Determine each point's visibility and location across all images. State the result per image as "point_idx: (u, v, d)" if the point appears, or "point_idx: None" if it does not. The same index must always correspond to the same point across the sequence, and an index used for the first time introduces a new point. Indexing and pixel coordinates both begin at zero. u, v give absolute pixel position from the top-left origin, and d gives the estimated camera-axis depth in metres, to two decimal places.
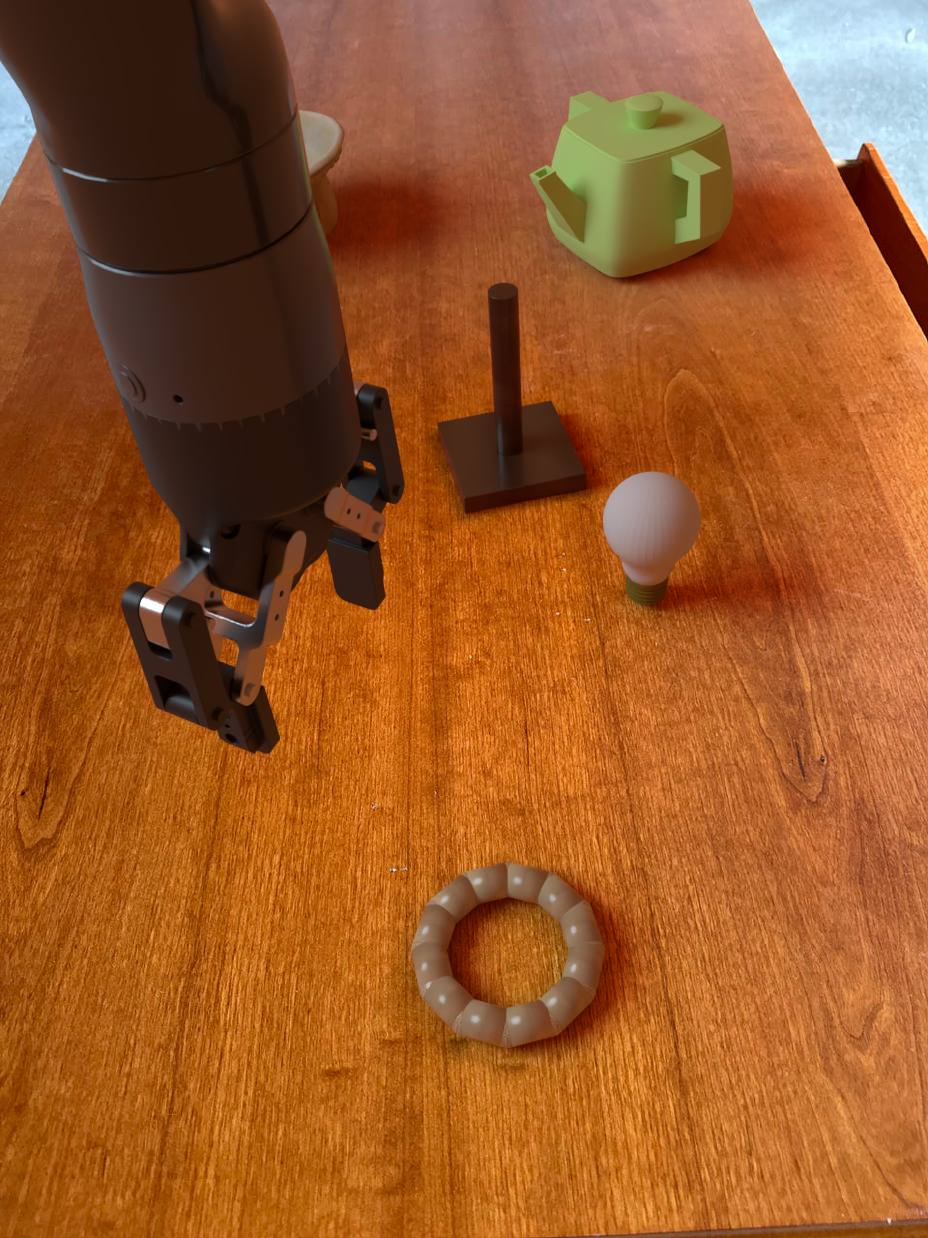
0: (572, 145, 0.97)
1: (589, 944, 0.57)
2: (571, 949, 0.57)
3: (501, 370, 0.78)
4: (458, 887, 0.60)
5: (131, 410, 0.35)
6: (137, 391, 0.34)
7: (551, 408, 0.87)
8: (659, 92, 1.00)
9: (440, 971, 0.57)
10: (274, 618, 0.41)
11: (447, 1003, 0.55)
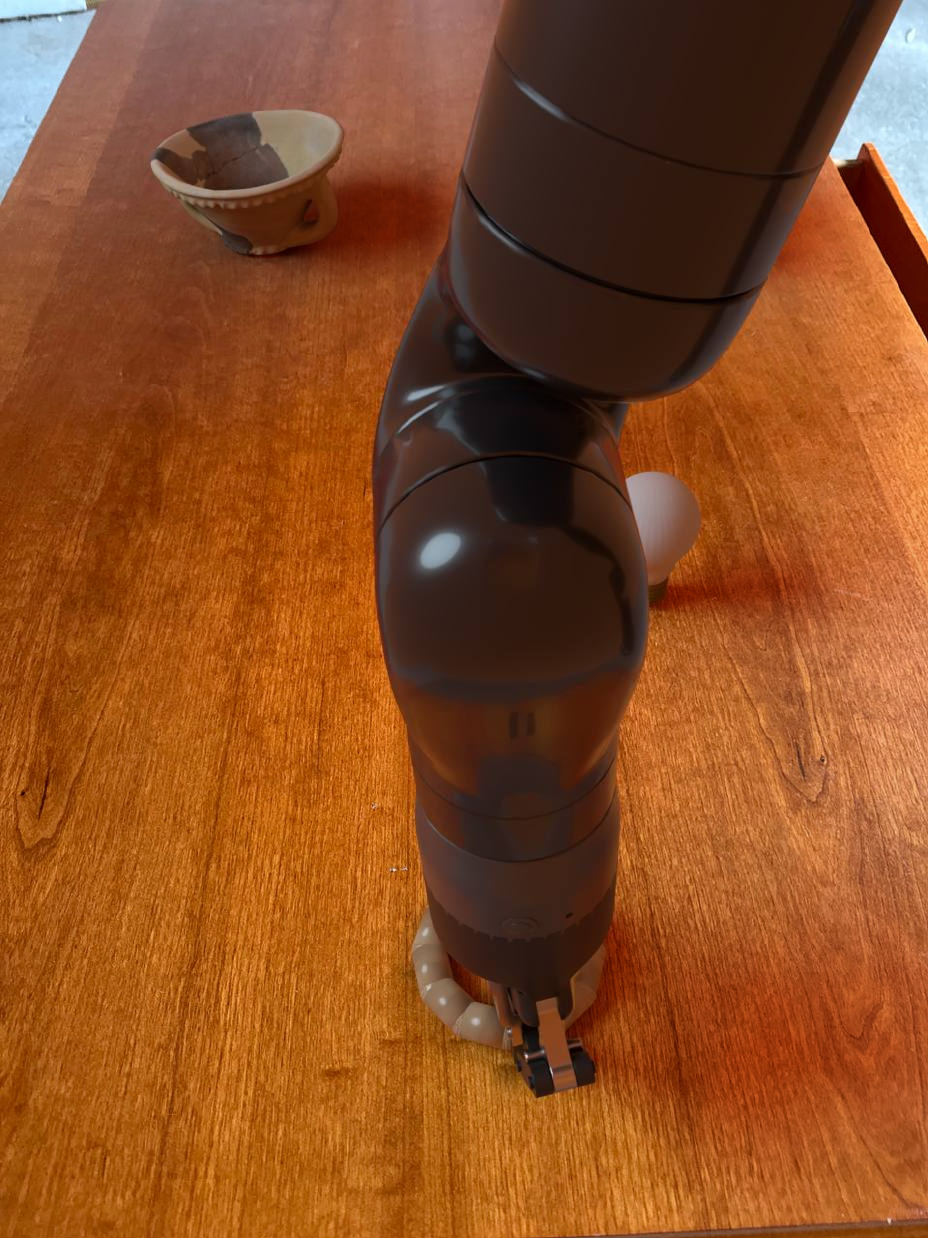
0: None
1: None
2: None
3: None
4: None
5: (506, 942, 0.41)
6: (532, 928, 0.40)
7: None
8: None
9: (440, 973, 0.56)
10: None
11: (447, 1005, 0.55)
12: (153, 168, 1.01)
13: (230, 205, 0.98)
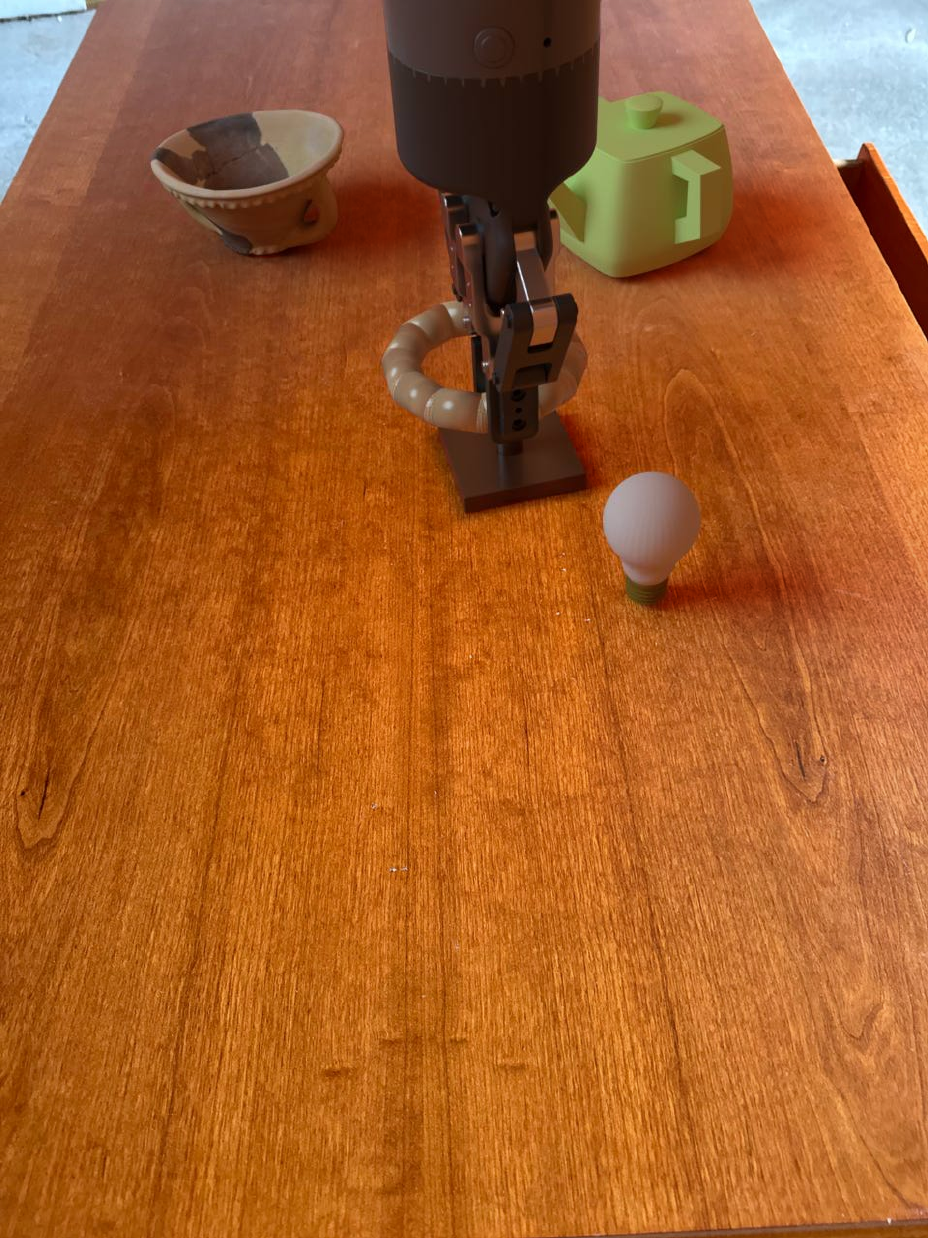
0: None
1: (571, 344, 0.54)
2: None
3: None
4: (432, 310, 0.56)
5: (479, 88, 0.38)
6: (507, 50, 0.37)
7: None
8: (659, 92, 1.00)
9: (412, 367, 0.53)
10: None
11: (419, 388, 0.52)
12: (153, 168, 1.01)
13: (230, 205, 0.98)
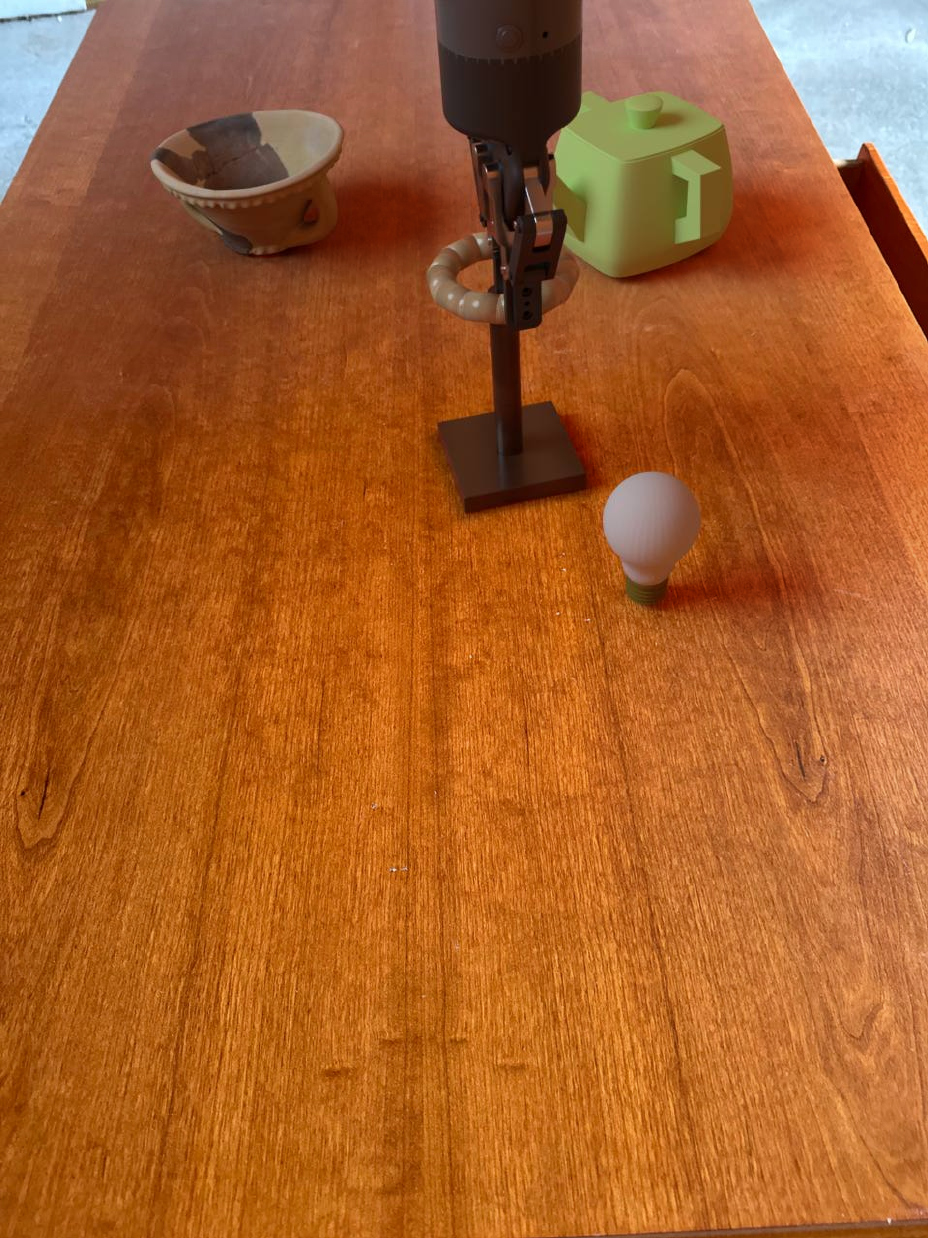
0: (572, 145, 0.97)
1: (566, 261, 0.72)
2: None
3: (501, 370, 0.78)
4: (464, 239, 0.75)
5: (500, 65, 0.56)
6: (518, 39, 0.56)
7: (551, 408, 0.87)
8: (659, 92, 1.00)
9: (449, 277, 0.72)
10: None
11: (454, 291, 0.71)
12: (153, 168, 1.01)
13: (230, 205, 0.98)
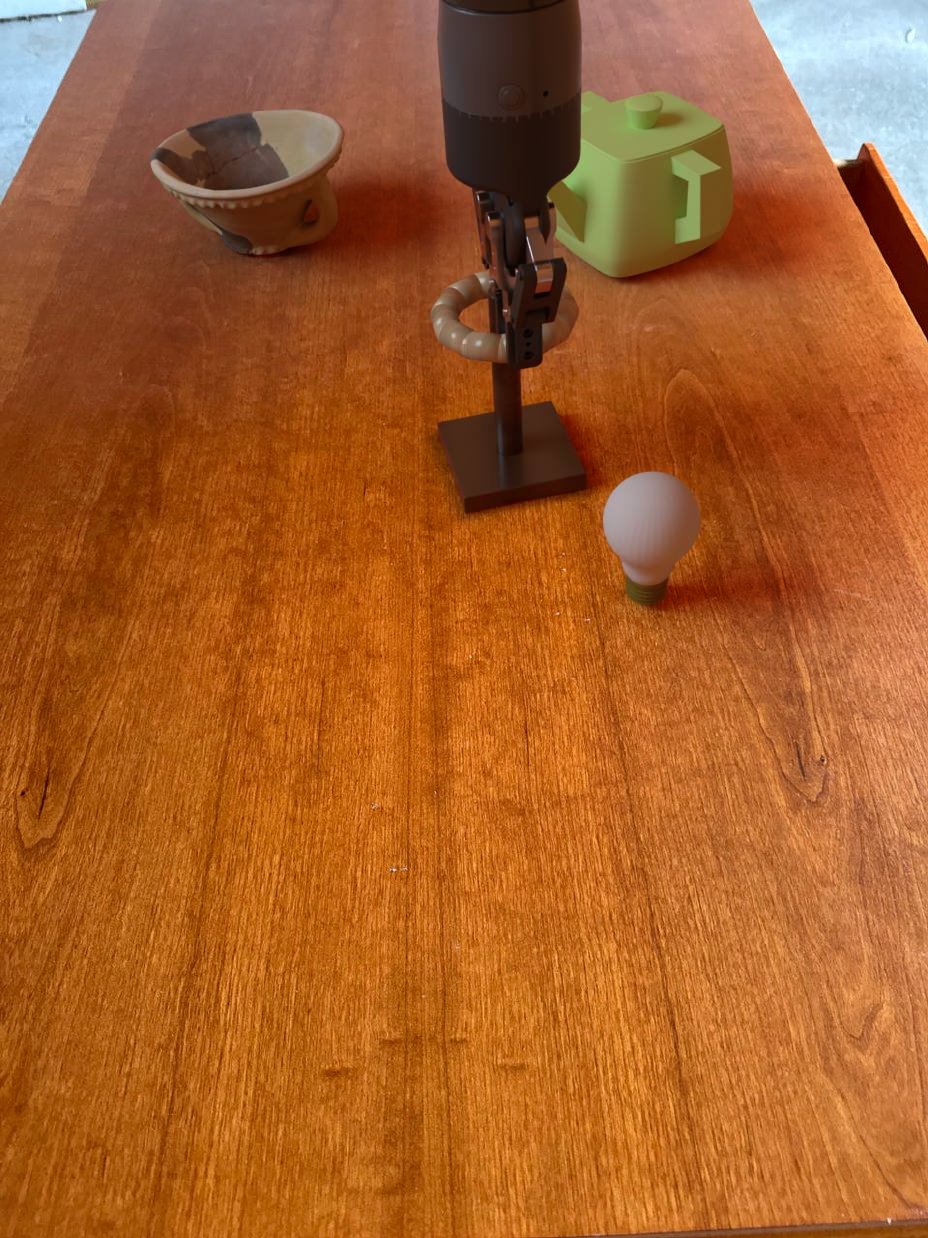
0: None
1: (566, 300, 0.74)
2: None
3: (501, 370, 0.78)
4: (467, 278, 0.77)
5: (502, 122, 0.59)
6: (520, 98, 0.58)
7: (551, 408, 0.87)
8: (659, 92, 1.00)
9: (452, 317, 0.74)
10: None
11: (457, 331, 0.73)
12: (153, 168, 1.01)
13: (230, 205, 0.98)
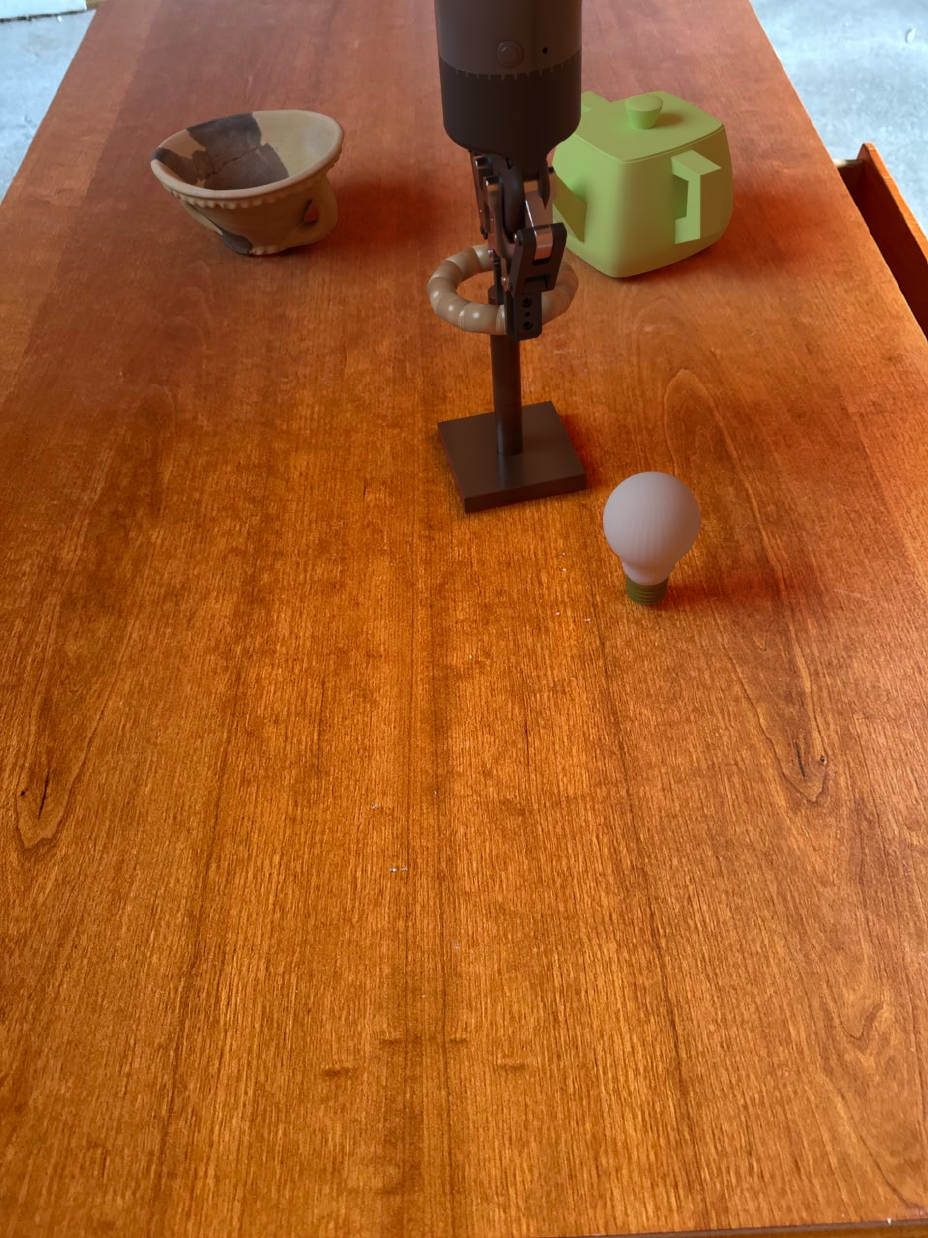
0: (572, 145, 0.97)
1: (566, 271, 0.73)
2: None
3: (501, 370, 0.78)
4: (464, 251, 0.76)
5: (500, 80, 0.57)
6: (518, 55, 0.56)
7: (551, 408, 0.87)
8: (659, 92, 1.00)
9: (449, 289, 0.73)
10: None
11: (454, 303, 0.71)
12: (153, 168, 1.01)
13: (230, 205, 0.98)
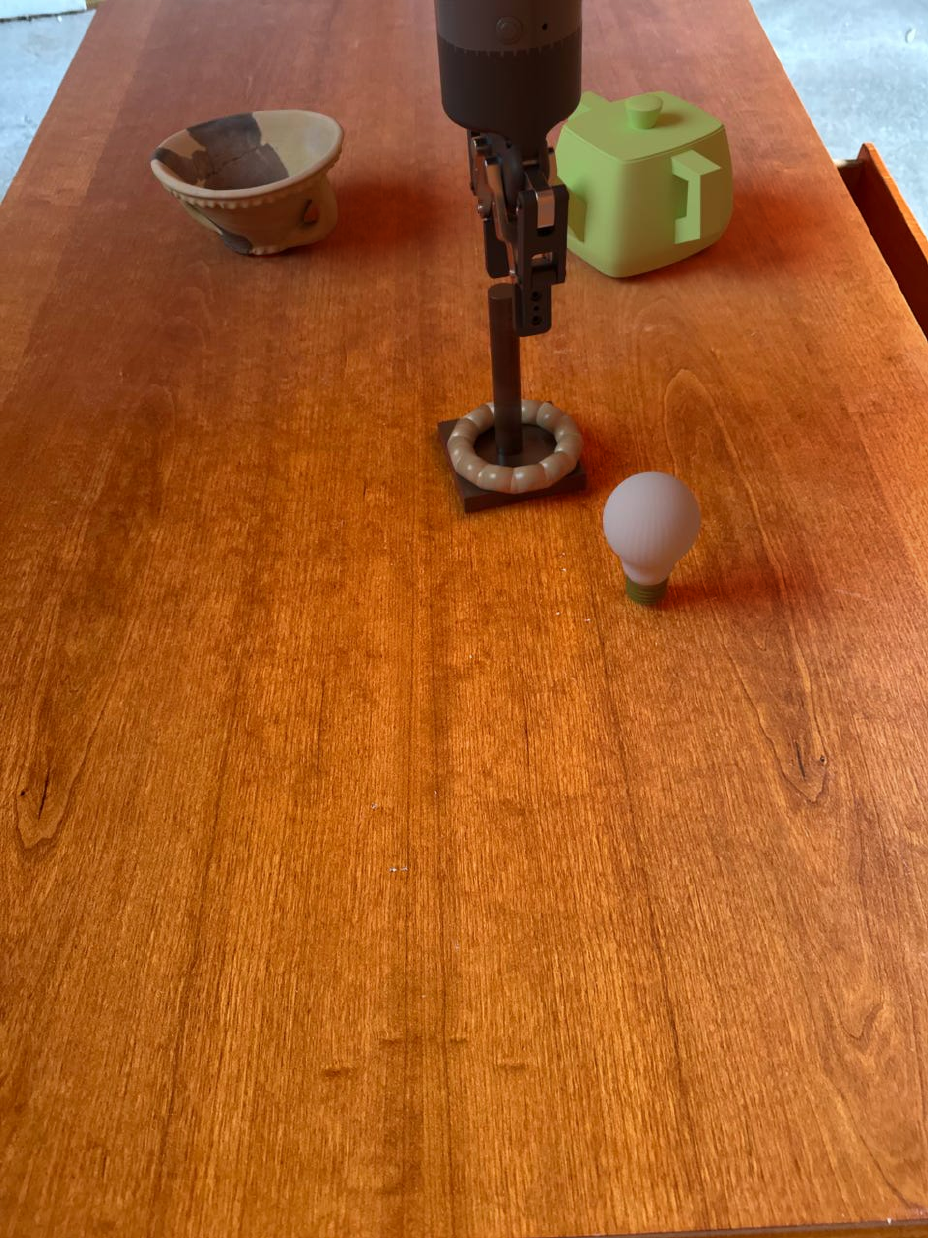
0: (572, 145, 0.97)
1: (572, 434, 0.82)
2: (559, 440, 0.82)
3: (501, 370, 0.78)
4: (480, 409, 0.84)
5: (499, 57, 0.56)
6: (518, 32, 0.55)
7: None
8: (659, 92, 1.00)
9: (468, 449, 0.81)
10: None
11: (473, 464, 0.80)
12: (153, 168, 1.01)
13: (230, 205, 0.98)
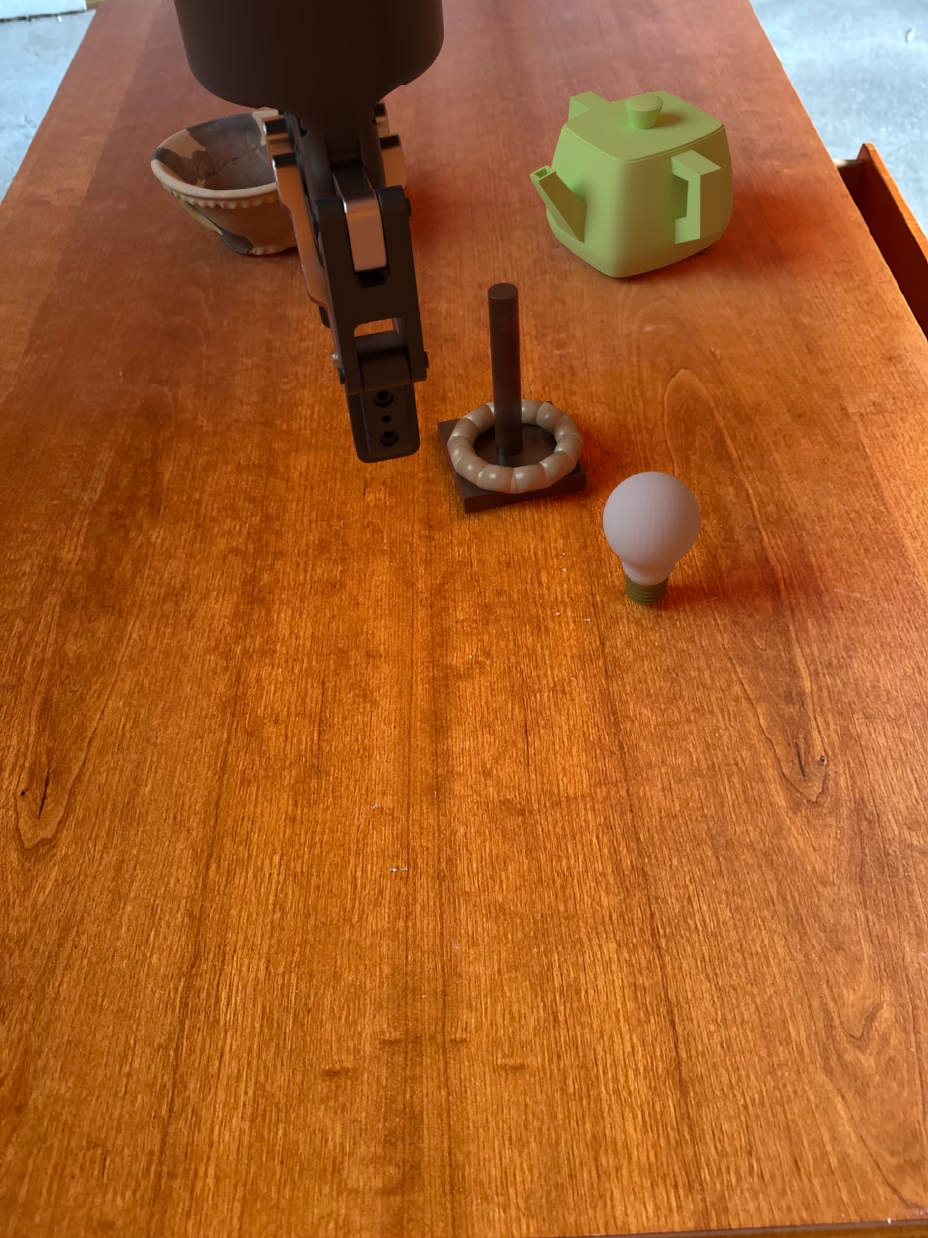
0: (572, 145, 0.97)
1: (572, 434, 0.82)
2: (559, 440, 0.82)
3: (501, 370, 0.78)
4: (480, 409, 0.84)
5: None
6: None
7: None
8: (659, 92, 1.00)
9: (468, 449, 0.81)
10: None
11: (473, 464, 0.80)
12: (153, 168, 1.01)
13: (230, 205, 0.98)
